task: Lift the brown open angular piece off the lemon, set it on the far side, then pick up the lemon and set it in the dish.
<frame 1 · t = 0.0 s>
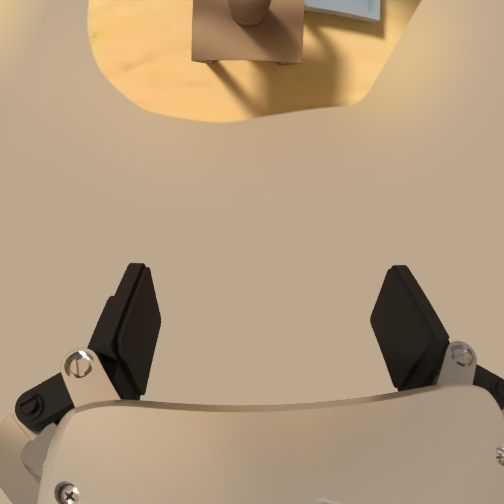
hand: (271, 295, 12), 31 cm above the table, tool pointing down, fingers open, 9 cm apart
brown open angular piece: (247, 27, 30), on the table
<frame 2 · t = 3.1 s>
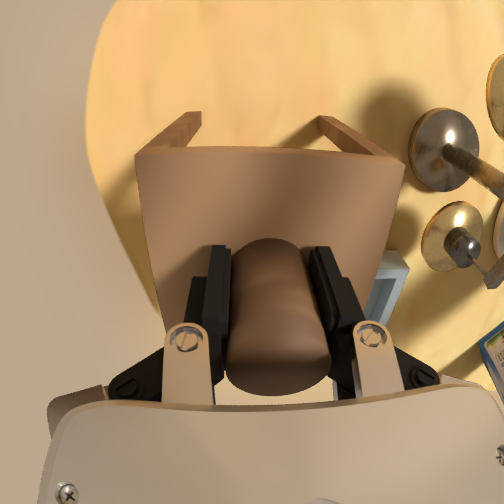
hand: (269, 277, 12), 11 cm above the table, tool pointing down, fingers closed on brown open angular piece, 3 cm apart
dish: (337, 293, 28), on the table
brown open angular piece: (257, 179, 22), on the table, touching gripper
balance: (443, 148, 20), on the table
milk carton: (494, 340, 37), on the table
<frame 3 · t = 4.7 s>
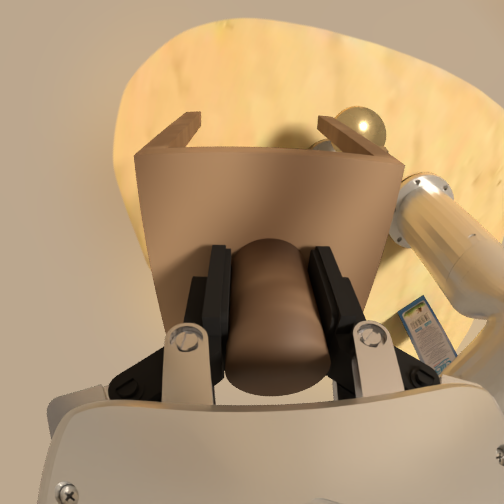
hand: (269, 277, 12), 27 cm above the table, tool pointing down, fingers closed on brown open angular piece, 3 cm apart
brown open angular piece: (257, 179, 22), point 16 cm above the table, touching gripper
balance: (330, 164, 37), on the table
milk carton: (416, 314, 55), on the table
when the fingers open (13 cm above the table, at t = 6.8 s): brown open angular piece drops 2 cm, on the table.
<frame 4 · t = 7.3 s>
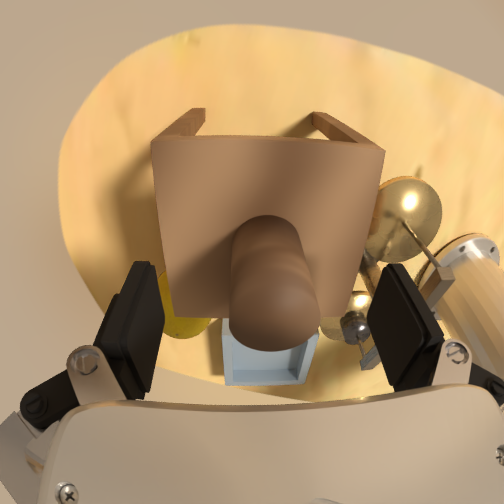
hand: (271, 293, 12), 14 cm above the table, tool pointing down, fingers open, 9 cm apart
dish: (266, 344, 35), on the table
brown open angular piece: (257, 170, 23), on the table
balance: (351, 237, 27), on the table
lemon: (190, 269, 29), on the table
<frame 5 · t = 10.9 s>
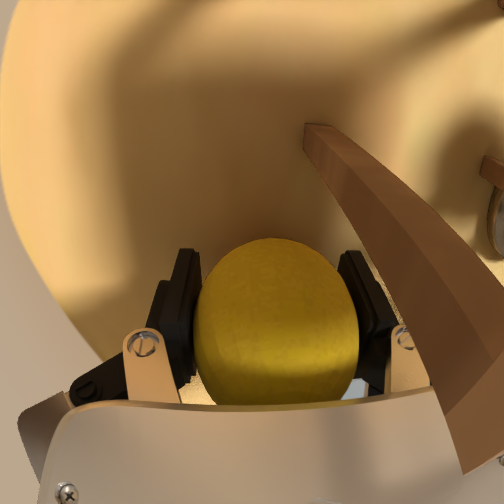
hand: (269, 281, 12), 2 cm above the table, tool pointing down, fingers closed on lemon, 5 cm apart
dish: (365, 381, 20), on the table
brown open angular piece: (432, 49, 8), on the table
lemon: (267, 256, 14), on the table, touching gripper
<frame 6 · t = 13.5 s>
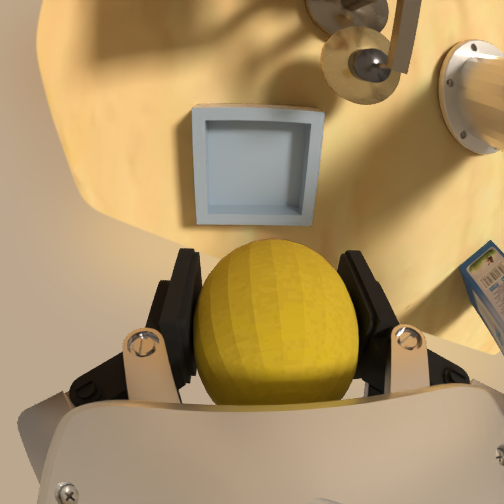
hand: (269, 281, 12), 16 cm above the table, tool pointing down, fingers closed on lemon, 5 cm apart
dish: (255, 159, 26), on the table
balance: (346, 4, 18), on the table
milk carton: (480, 272, 35), on the table
lemon: (267, 257, 14), point 15 cm above the table, touching gripper
when the fingers open (4 cm above the table, at t = 16.0 s): lemon drops 2 cm, resting on dish.
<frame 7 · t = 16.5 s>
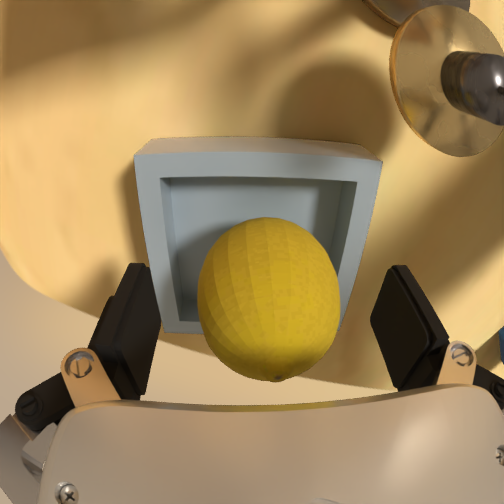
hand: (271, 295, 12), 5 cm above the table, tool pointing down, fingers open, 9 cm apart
dish: (254, 230, 16), on the table
lemon: (261, 238, 16), point 1 cm above the table, touching dish
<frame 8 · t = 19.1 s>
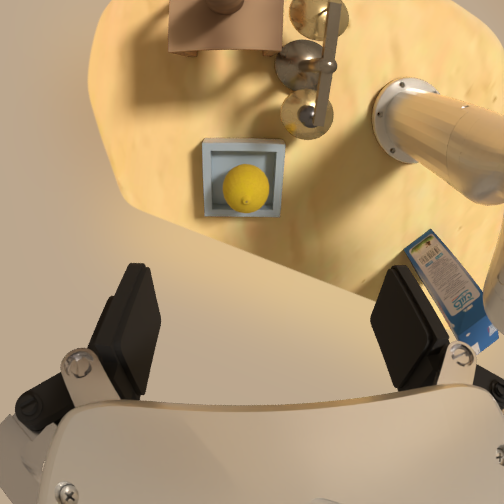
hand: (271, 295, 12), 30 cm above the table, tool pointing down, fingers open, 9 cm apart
dish: (243, 173, 40), on the table
brown open angular piece: (230, 18, 28), on the table
balance: (303, 66, 32), on the table
milk carton: (425, 255, 49), on the table
lemon: (245, 175, 39), point 1 cm above the table, touching dish
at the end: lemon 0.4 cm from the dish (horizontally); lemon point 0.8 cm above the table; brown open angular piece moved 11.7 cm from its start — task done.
